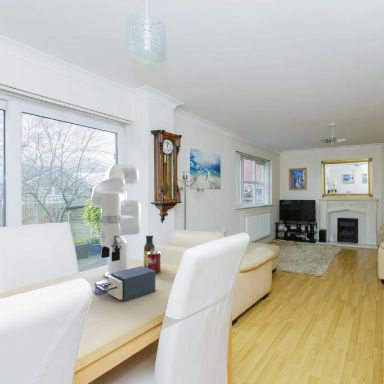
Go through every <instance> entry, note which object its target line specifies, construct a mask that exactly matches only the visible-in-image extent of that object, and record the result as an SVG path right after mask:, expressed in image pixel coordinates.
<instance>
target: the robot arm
mask: <svg viewBox="0 0 384 384" xmlns="http://www.w3.org/2000/svg"><path fill="white" fill-rule="evenodd" d="M104 175H105V179H103V180H102V181H99V182H98V183H96V184H95V185H94V187H93V189H92V193H91V197H90V203H91V205H92V207H94V208H97V209H98V208H99V209H100V230H99V245H100V249H101V251H100V252H101V255H100V257H101V259H105V258H107V271H106V272H105V273H104V277H106V278H108V276H111V273H114V272H118V271H123V270H127V269H128V241H127V239H126V238H124V237H123V236H133V235H134V236H135V235H138V234H140V233H141V229H142V208H141V203H140V202H139V201H138V200H137V199H136V200H135V199H128V191H127V190H126V189H125V188H124V187H125V185H137V184H138V183H139V180H140V174H139V169H138V167H137V166H136V165H133V164H121V163H120V164H112V165H110V166H109V168H108V169H107V170H106V171H105V174H104Z"/></svg>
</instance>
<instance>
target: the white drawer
mask: <svg viewBox="0 0 384 384" xmlns="http://www.w3.org/2000/svg"><path fill="white" fill-rule="evenodd" d="M107 281H108V284H106V285H102V286H96V289H98V290H99V291H101V292H103V293H102V294H106V293H108V295H110V296H112V297H114V298H115V299H118V300H119V301H121V300H122V299H123V296H124V280H122V279H119V278H117V277H113V276H108V277H107ZM105 286H108V289H106V290H105V289H104V288H102V287H105ZM106 291H108V292H106ZM105 292H106V293H105Z"/></svg>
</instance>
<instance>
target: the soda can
mask: <svg viewBox="0 0 384 384" xmlns="http://www.w3.org/2000/svg"><path fill="white" fill-rule="evenodd" d="M161 259H162V253H161V251H158V250H155V251H152V252H148V254H147V268H149V269H151V270H154V271H155V276H157V275H159V274H161V270H162V269H161V266H162V265H161V263H162V260H161Z"/></svg>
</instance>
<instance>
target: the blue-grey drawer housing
mask: <svg viewBox="0 0 384 384" xmlns="http://www.w3.org/2000/svg"><path fill="white" fill-rule="evenodd" d="M111 276H113V277H117V278H119V279H122V280H124V296H123V299H121V300H122V301H123V302H126V301H129V300H132V299H135V298H139V297H141V296H144V295H147V294H151V293H154V292H156V275H155V271H154V270H151V269H149V268H146V267H144V265H140V266H135V267H132V268H127V270H123V271H118V272H114V273H111Z"/></svg>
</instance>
